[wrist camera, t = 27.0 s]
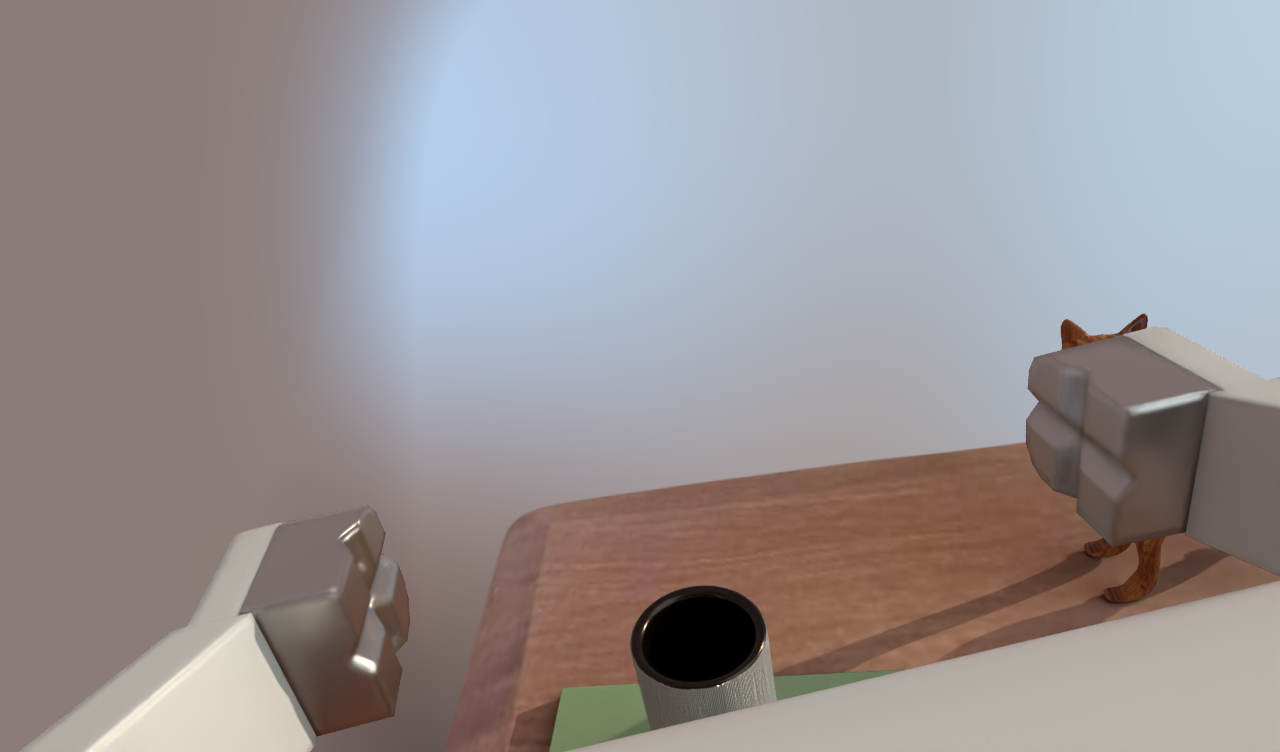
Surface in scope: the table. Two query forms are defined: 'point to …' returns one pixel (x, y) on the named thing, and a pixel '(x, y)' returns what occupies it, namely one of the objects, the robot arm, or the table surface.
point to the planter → (701, 656)
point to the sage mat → (623, 712)
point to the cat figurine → (1147, 549)
